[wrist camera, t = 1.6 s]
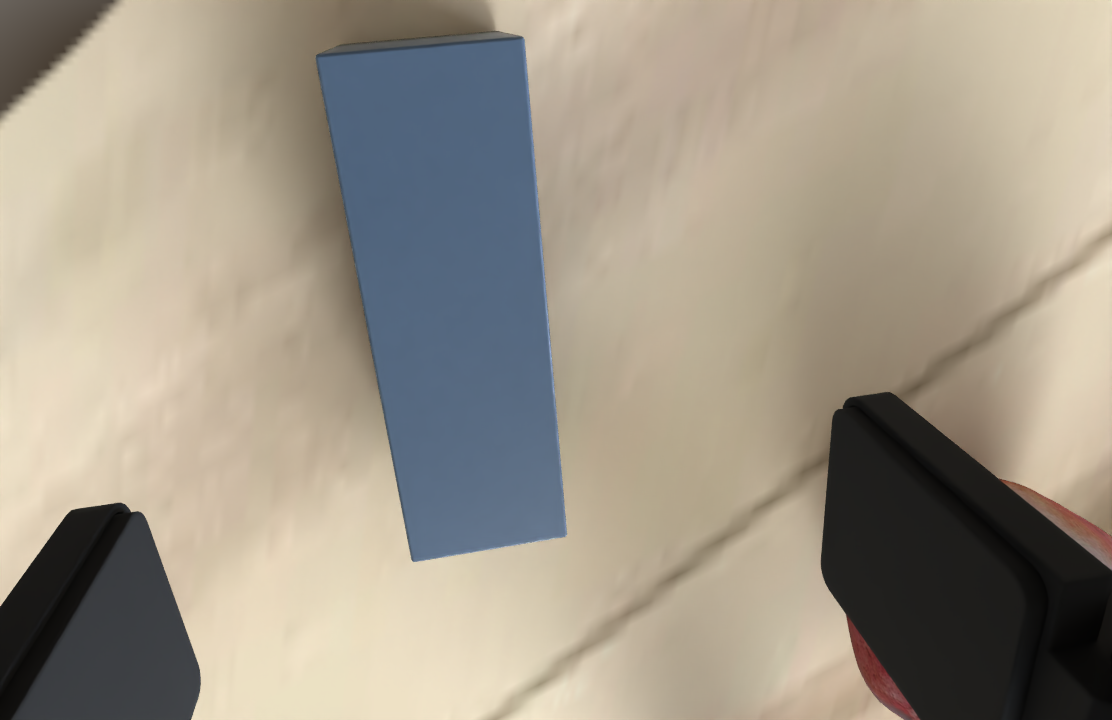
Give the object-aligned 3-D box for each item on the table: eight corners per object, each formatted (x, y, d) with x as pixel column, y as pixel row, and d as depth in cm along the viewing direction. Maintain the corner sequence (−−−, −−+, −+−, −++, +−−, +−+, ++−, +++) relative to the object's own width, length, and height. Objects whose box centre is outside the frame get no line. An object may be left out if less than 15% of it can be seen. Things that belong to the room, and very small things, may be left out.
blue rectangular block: (538, 438, 25) (568, 537, 20) (412, 458, 24) (411, 563, 20) (498, 30, 20) (524, 36, 15) (338, 44, 19) (314, 53, 15)
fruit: (893, 674, 32) (1081, 933, 23) (755, 560, 28) (914, 815, 19) (1075, 528, 30) (1353, 746, 21) (953, 387, 27) (1228, 578, 18)
